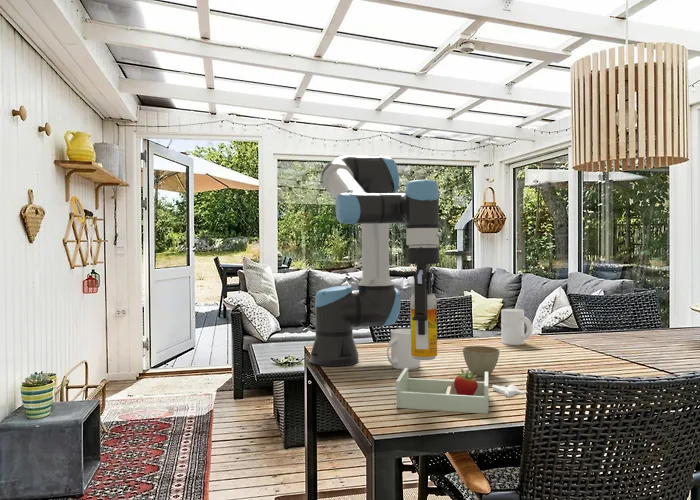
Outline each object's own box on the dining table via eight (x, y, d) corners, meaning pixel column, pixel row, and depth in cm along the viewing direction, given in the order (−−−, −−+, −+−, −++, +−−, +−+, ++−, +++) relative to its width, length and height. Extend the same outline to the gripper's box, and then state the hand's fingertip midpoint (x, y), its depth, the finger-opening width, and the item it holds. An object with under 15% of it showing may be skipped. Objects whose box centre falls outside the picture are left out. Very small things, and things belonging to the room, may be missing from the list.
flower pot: (474, 380, 142) (474, 353, 142) (456, 372, 152) (456, 347, 152) (507, 377, 145) (506, 351, 145) (487, 369, 155) (487, 344, 155)
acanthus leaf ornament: (508, 400, 127) (508, 392, 127) (488, 393, 133) (488, 385, 133) (531, 395, 130) (531, 387, 130) (511, 388, 136) (511, 381, 136)
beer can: (436, 361, 121) (435, 295, 121) (409, 360, 122) (409, 295, 122) (437, 355, 127) (437, 292, 127) (412, 355, 128) (411, 292, 128)
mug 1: (377, 368, 158) (376, 332, 158) (405, 362, 165) (404, 327, 165) (397, 373, 151) (397, 335, 151) (426, 366, 159) (425, 330, 159)
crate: (396, 407, 120) (396, 381, 120) (405, 391, 132) (405, 367, 132) (488, 413, 115) (488, 386, 115) (488, 396, 127) (488, 371, 127)
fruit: (476, 407, 119) (476, 372, 119) (452, 405, 121) (452, 370, 121) (478, 401, 124) (478, 367, 124) (455, 399, 126) (455, 365, 125)
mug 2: (525, 347, 186) (525, 313, 186) (496, 342, 195) (496, 310, 195) (538, 344, 191) (538, 311, 191) (509, 340, 200) (509, 308, 200)
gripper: (435, 246, 114) (436, 354, 114) (442, 246, 132) (443, 339, 133) (400, 247, 116) (401, 353, 116) (412, 246, 134) (413, 338, 134)
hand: (424, 345), depth 124 cm, fingers closed on beer can, 6 cm apart
